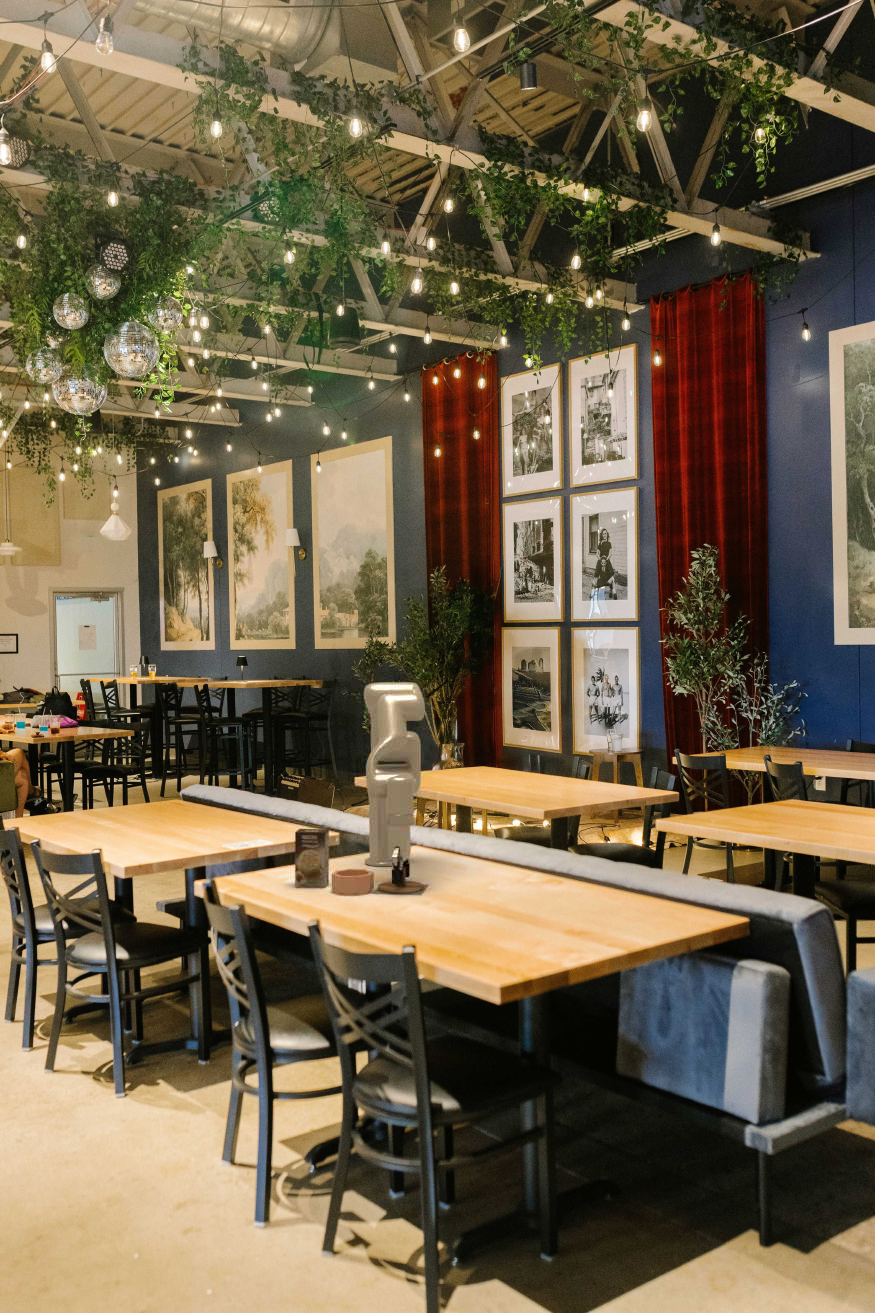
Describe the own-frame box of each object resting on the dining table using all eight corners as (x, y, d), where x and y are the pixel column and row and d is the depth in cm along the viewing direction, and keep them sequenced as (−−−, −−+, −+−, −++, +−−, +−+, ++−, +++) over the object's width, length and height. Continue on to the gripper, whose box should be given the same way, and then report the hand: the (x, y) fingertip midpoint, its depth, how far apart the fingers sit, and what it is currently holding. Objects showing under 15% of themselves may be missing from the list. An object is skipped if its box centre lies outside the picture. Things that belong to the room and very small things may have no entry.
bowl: (338, 888, 305) (338, 868, 305) (376, 888, 303) (376, 869, 303) (328, 896, 294) (328, 876, 294) (367, 897, 292) (367, 877, 292)
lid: (382, 884, 308) (382, 863, 308) (427, 884, 306) (427, 864, 306) (373, 893, 295) (373, 872, 295) (419, 894, 293) (419, 873, 293)
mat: (381, 885, 308) (381, 883, 308) (429, 886, 306) (429, 884, 306) (371, 895, 295) (371, 894, 295) (421, 896, 292) (421, 895, 292)
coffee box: (294, 887, 306) (293, 831, 306) (299, 883, 312) (298, 828, 312) (325, 888, 305) (324, 832, 305) (329, 883, 311) (329, 828, 311)
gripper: (393, 815, 310) (393, 874, 310) (381, 824, 293) (381, 886, 292) (418, 815, 309) (419, 875, 308) (407, 824, 291) (408, 887, 291)
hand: (400, 880), depth 300 cm, fingers open, 9 cm apart
